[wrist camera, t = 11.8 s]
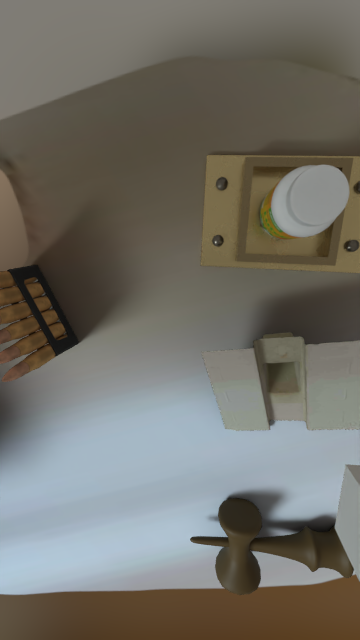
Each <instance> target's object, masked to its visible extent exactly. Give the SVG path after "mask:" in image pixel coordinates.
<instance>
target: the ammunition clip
mask: <svg viewBox="0 0 360 640" xmlns="http://www.w3.org/2000/svg"><path fill="white" fill-rule="evenodd" d="M16 285H17V286H16ZM13 286H15V287H13ZM0 288H2V289H0V307H1V306H4V305H8V304H11V305H10V306H7V307H3V308H1V309H0V324H5V323H11V322H14V321H17V320H20V321H17V322H15V323H12V324H10V325H9V326H8V327H6V328H4V329H2V330H0V344H2V343H5V342H8V341H11V340H14V339H19V338H22V337H24V336H26V335H28V334H29V336H27V337H24V338H22V339H20V340H19V341H18V342H17V343H15V344H14V345H12V346H10V347H9V348H7V349H5V350H3V351H2V352H0V364H2V363H6V362H9V361H11V360H13V359H15V358H18V357H20V356H22V355H25V354H29V353H31V352H33V351H34V350H36V349H37V351H35V352H33V353H31V354H30V355H28V356H27V357H26V358H25V359H24V360H23V361H21V362H20V363H19V364H17V365H15V366H14V367H13V368H11V369H10V370H9V371H8V372H7V373H6V374H5V375H4V377H3V378H2V382H8V381H12V380H15V379H17V378H19V377H21V376H23V375H25V374H26V373H28V372H30V371H32V370H35V369H37V368H39V367H41V366H42V365H44V364H45V363H47V362H48V361H50V360H51V359H53V358H54V357H56V356H57V355H59V354H61V353H63V352H64V351H66V350H68V349H70V348H72V347H73V346H75V345H77V344H78V343H79V341H78V339H77V338H76V336H75V334H74V332H73V330H72V328H71V326H70V325H69V323H68V321H67V319H66V317H65V315H64V313H63V312H62V310H61V308H60V306H59V304H58V302H57V300H56V299H55V297H54V295H53V293H52V291H51V289H50V287H49V286H48V284H47V282H46V280H45V278H44V276H43V274H42V272H41V271H40V269H39V267H38V265H33V266H27V267H21V268H15V269H9V270H7V271H1V272H0ZM24 300H26V301H24ZM20 301H24V302H21V303H19V302H20ZM31 315H33V316H31ZM28 316H31V317H28ZM27 317H28V318H27ZM40 329H41V330H40ZM37 330H39V331H37ZM35 331H37V332H35ZM47 343H49V344H47ZM45 344H47V345H45Z"/></svg>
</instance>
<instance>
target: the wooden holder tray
mask: <svg viewBox="0 0 360 640" xmlns="http://www.w3.org/2000/svg"><path fill="white" fill-rule="evenodd" d="M307 165H316V166H317V165H331V166H334V167H336V168H338V169H339V170H340V171H341V172H342V173H343V174H344V175H345V177H346V178H347V181H348V184H349V198H348V201H347V204H346V206H345V208H344V209H343V211H342V212H341V213H340V215H338V216H337V217H336V219H335V220H334V222H333V223H332V224H331V225H330V226H329V227H328V228H326V229H325V230H324V231H322V232H320V233H318V234H316V235H313V236H309V237H304V238H295V239H277V238H274V237H272V236H271V235H269V234H268V233H267V232H266V231H265V230H264V228H263V226H262V224H261V221H260V207H261V204H262V202H263V200H264V198H265V196H266V195H267V194H268V193H269V191H270V190H271V189H272V188H273V187H274V186H275V185H276V184H277V183H278V182H279V181H280V180H281V179H282V178H283V177H284V176H286V175H287V174H288V173H290V172H291V171H293V170H294V169H297V168H299V167H302V166H307ZM201 266H220V267H241V268H263V269H284V270H305V271H327V272H348V273H360V156H263V155H207V162H206V180H205V198H204V215H203V233H202V251H201Z"/></svg>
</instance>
